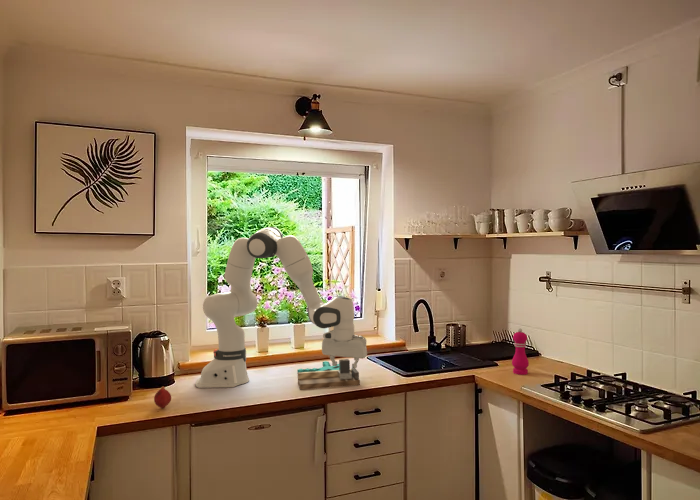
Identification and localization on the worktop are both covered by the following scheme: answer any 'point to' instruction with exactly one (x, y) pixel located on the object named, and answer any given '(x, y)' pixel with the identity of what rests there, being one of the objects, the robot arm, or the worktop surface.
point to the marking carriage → (344, 369)
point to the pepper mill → (520, 354)
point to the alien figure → (325, 368)
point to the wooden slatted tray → (326, 379)
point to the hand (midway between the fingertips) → (344, 366)
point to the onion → (162, 398)
